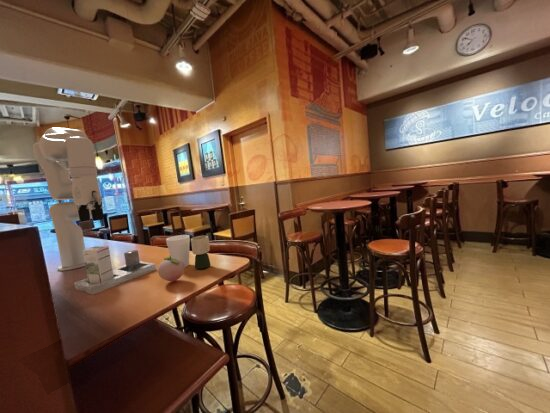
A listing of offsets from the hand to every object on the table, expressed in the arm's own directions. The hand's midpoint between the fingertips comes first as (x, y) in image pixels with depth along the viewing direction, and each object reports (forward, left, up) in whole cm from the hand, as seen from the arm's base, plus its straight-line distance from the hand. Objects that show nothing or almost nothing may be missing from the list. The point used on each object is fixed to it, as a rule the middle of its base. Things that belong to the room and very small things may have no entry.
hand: (91, 219), depth 84 cm
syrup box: (0, 0, -25) cm, 25 cm away
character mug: (+26, +26, -25) cm, 45 cm away
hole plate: (0, +6, -25) cm, 26 cm away
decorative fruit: (+26, +11, -25) cm, 38 cm away
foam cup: (+15, +24, -25) cm, 38 cm away
